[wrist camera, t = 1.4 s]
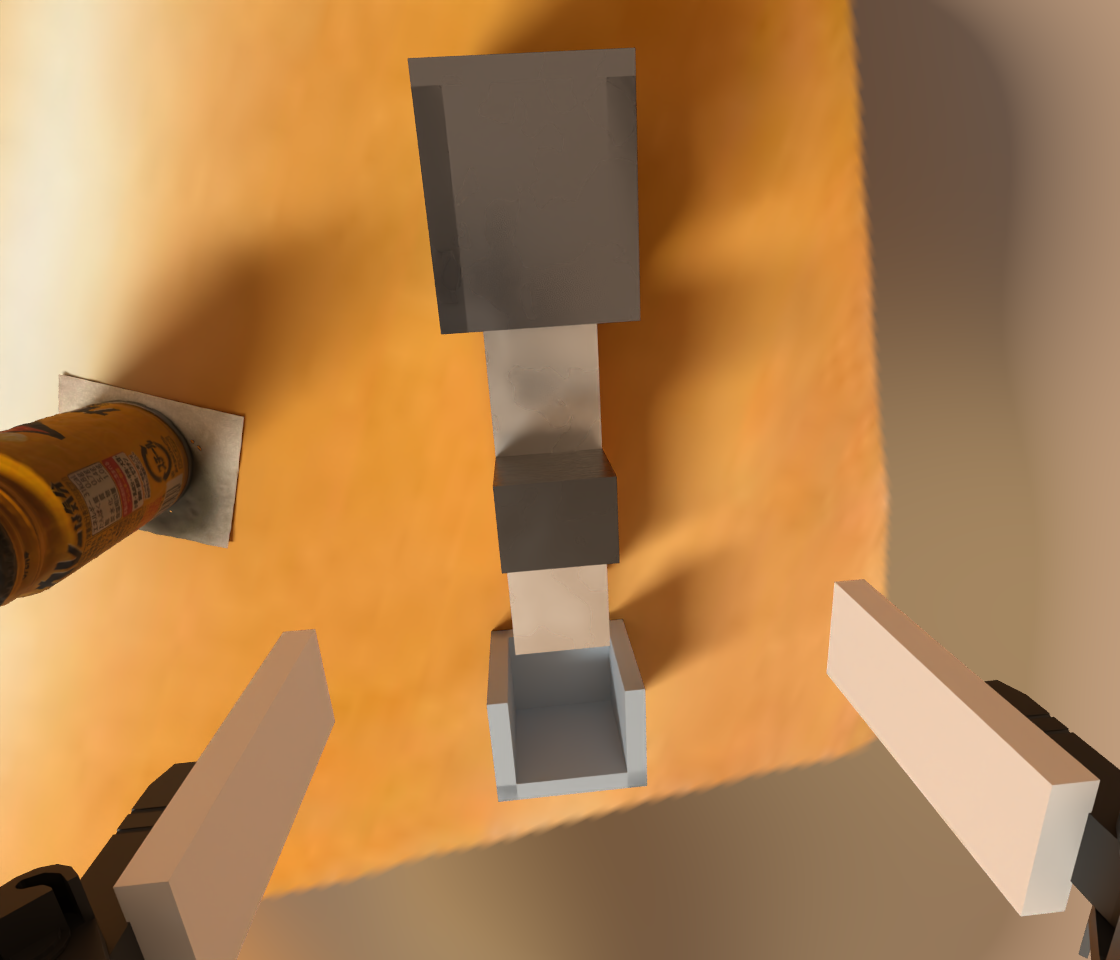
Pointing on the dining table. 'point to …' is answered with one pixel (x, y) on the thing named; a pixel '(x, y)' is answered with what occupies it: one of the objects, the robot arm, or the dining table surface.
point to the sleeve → (530, 187)
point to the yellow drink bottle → (110, 480)
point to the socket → (566, 718)
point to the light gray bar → (552, 485)
